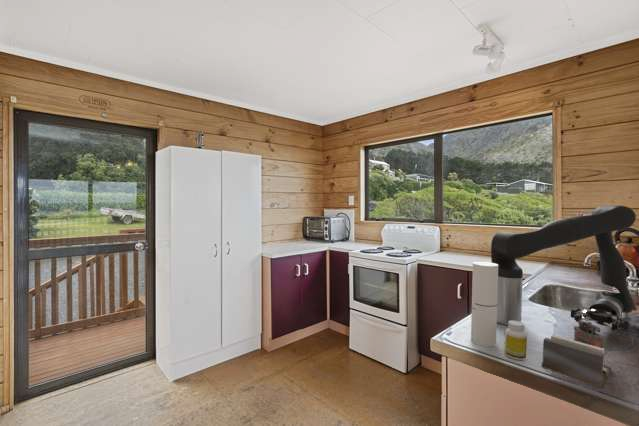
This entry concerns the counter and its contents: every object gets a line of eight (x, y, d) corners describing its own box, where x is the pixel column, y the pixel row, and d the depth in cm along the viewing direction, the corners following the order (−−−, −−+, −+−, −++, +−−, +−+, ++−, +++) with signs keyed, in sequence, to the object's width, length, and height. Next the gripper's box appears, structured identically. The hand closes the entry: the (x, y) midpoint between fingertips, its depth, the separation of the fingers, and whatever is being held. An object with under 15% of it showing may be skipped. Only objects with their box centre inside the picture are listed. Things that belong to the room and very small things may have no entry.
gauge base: (554, 353, 94) (555, 328, 94) (610, 371, 85) (611, 343, 84) (541, 366, 87) (542, 339, 87) (601, 387, 77) (602, 357, 77)
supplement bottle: (529, 361, 90) (530, 327, 89) (508, 359, 91) (509, 325, 90) (521, 352, 95) (522, 320, 94) (501, 350, 96) (502, 318, 95)
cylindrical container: (486, 348, 97) (488, 267, 96) (466, 339, 104) (467, 262, 102) (501, 343, 101) (503, 264, 99) (480, 335, 107) (482, 260, 106)
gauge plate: (551, 355, 90) (552, 334, 90) (606, 372, 81) (607, 349, 81) (550, 357, 89) (551, 336, 89) (605, 374, 80) (606, 351, 80)
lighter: (569, 350, 96) (570, 317, 96) (580, 350, 97) (581, 317, 96) (594, 364, 88) (595, 328, 88) (605, 363, 89) (607, 328, 88)
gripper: (579, 295, 115) (566, 305, 105) (634, 306, 104) (626, 317, 94) (578, 316, 115) (566, 327, 105) (633, 328, 104) (625, 343, 94)
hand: (594, 323), depth 99 cm, fingers open, 8 cm apart
